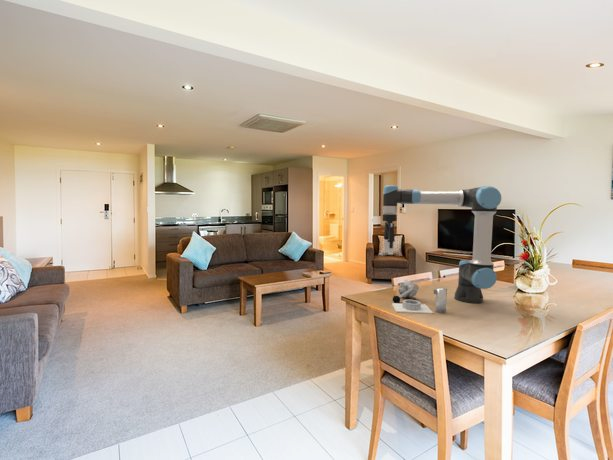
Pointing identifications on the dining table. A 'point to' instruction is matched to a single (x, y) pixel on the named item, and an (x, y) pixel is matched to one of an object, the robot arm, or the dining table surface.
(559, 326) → the dining table surface
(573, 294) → the dining table surface
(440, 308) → the grey upright cylinder
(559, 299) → the dining table surface
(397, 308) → the duct panel
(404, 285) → the valve
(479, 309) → the dining table surface
